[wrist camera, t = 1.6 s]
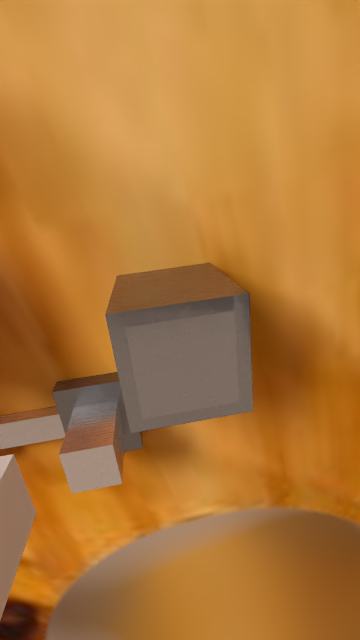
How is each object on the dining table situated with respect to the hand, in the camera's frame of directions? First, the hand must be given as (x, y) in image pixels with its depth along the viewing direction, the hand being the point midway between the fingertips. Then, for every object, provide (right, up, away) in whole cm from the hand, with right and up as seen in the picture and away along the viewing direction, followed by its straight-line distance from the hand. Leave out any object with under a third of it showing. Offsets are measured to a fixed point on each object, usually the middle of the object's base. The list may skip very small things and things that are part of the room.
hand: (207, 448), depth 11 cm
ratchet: (-14, -4, +15) cm, 21 cm away
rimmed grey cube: (-2, +5, +13) cm, 15 cm away
